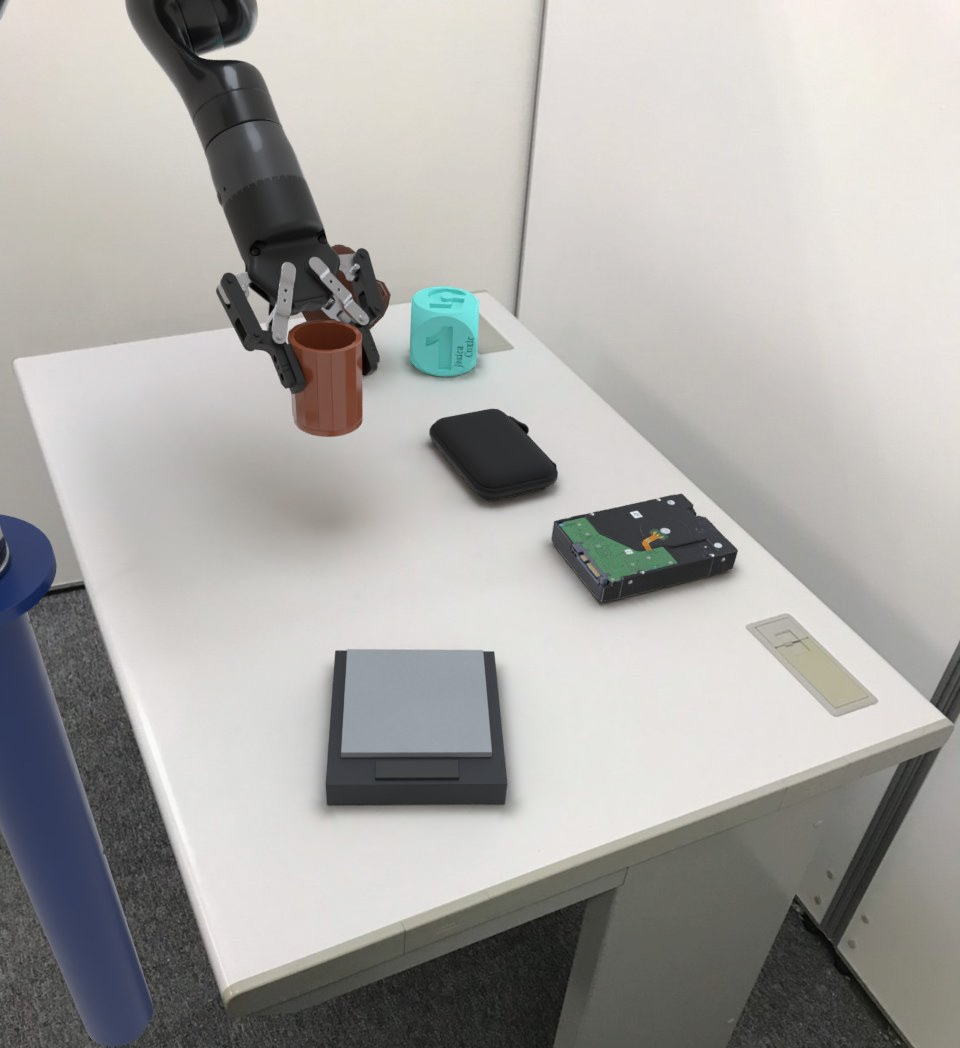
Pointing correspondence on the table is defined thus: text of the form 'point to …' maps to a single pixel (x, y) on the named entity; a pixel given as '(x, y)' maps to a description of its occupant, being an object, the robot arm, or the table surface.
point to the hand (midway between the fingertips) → (335, 380)
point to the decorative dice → (444, 331)
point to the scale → (415, 729)
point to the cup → (328, 377)
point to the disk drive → (642, 547)
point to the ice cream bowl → (348, 285)
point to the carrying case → (493, 454)
